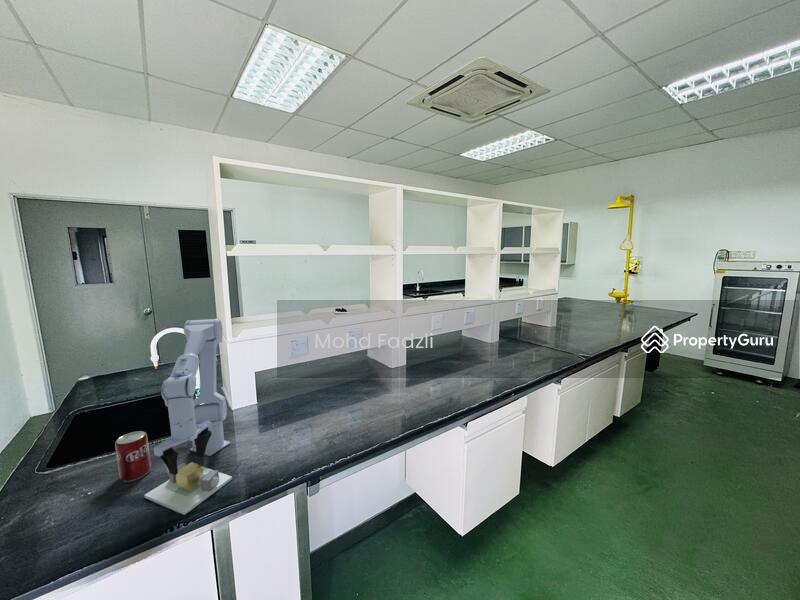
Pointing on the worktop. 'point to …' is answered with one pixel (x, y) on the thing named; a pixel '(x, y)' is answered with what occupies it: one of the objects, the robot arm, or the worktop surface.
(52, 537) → the worktop surface
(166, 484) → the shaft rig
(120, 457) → the soda can
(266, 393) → the worktop surface
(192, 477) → the block
